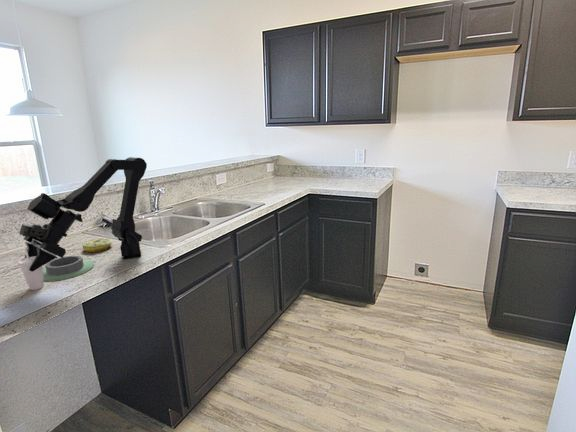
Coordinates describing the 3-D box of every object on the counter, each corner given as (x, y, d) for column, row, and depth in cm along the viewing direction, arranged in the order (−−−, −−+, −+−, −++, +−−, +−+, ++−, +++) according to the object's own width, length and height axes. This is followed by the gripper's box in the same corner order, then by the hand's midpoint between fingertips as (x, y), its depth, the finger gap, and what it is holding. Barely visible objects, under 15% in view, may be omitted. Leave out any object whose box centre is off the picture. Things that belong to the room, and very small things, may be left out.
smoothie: (19, 291, 107) (8, 249, 104) (38, 282, 113) (28, 242, 110) (35, 292, 106) (25, 251, 102) (53, 283, 112) (44, 243, 108)
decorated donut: (117, 246, 147) (116, 237, 146) (96, 254, 137) (94, 246, 136) (100, 243, 151) (98, 235, 150) (78, 251, 141) (76, 243, 140)
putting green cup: (97, 257, 134) (95, 249, 133) (90, 275, 118) (88, 266, 117) (43, 265, 127) (41, 257, 126) (28, 285, 111) (26, 275, 110)
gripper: (24, 210, 112) (-10, 251, 106) (46, 217, 101) (10, 264, 95) (56, 226, 120) (26, 266, 114) (79, 235, 109) (47, 279, 103)
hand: (26, 268), depth 107 cm, fingers closed on smoothie, 6 cm apart
